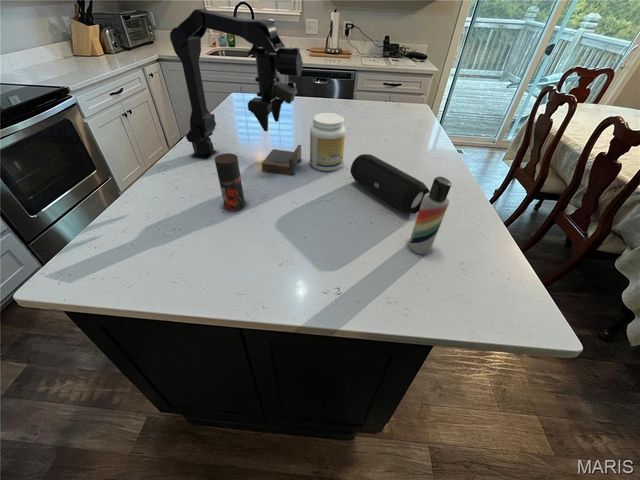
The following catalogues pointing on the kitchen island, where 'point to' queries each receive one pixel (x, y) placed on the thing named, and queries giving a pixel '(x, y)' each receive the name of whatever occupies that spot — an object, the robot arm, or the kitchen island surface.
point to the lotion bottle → (430, 216)
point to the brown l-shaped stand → (282, 161)
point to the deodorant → (230, 181)
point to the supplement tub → (327, 141)
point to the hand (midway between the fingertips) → (271, 126)
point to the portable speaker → (389, 183)
